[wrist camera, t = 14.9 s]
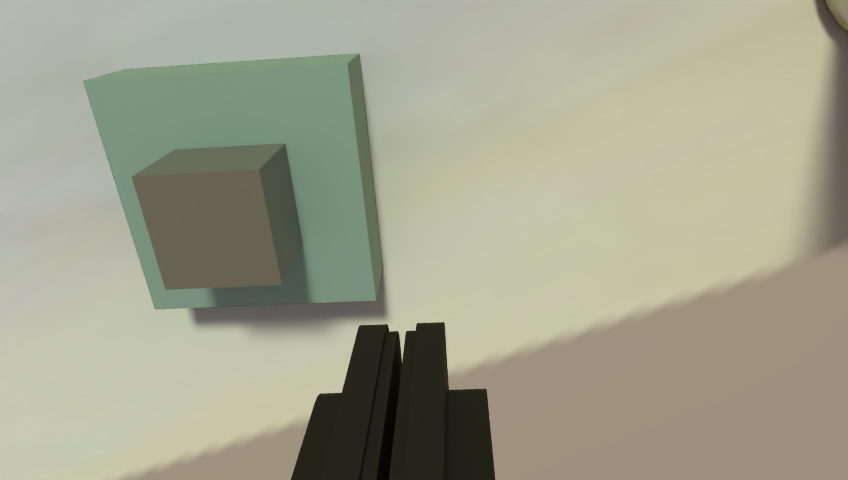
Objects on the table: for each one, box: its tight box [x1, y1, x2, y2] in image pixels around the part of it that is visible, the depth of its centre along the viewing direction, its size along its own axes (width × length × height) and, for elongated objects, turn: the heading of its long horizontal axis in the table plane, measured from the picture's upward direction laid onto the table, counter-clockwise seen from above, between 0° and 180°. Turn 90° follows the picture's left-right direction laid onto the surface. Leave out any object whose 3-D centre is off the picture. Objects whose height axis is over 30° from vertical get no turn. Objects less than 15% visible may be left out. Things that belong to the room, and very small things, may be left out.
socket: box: [83, 54, 383, 309], centre depth 36 cm, size 15×15×4 cm
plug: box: [132, 143, 303, 290], centre depth 34 cm, size 7×7×9 cm
